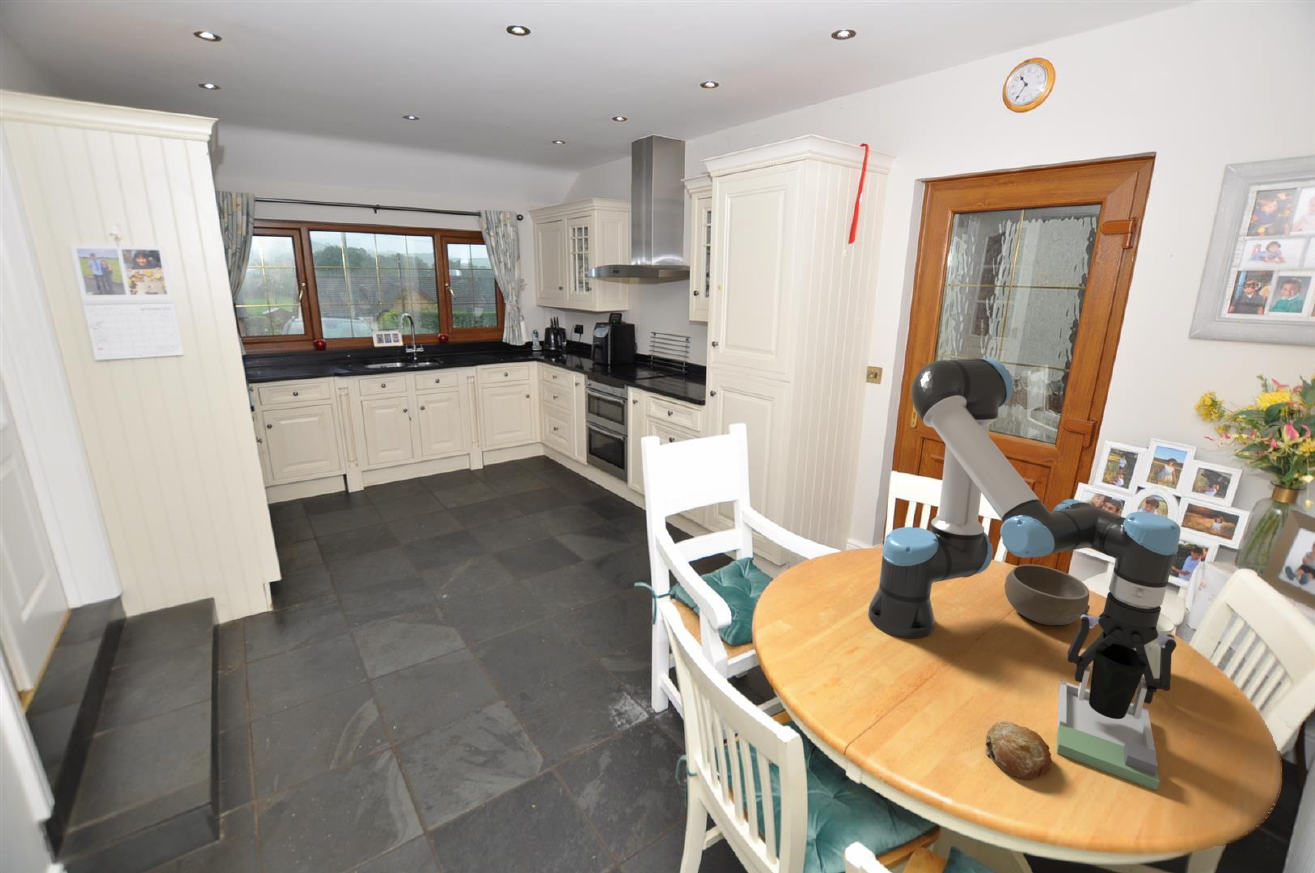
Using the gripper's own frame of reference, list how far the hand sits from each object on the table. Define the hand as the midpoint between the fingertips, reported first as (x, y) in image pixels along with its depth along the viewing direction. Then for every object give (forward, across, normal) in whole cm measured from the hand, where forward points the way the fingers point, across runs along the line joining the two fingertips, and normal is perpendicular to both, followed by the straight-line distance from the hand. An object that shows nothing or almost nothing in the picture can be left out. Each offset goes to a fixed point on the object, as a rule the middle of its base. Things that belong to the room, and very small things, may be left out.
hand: (1107, 704), depth 110 cm
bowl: (+5, -11, +38) cm, 40 cm away
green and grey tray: (+5, 0, -3) cm, 6 cm away
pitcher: (+5, +6, +23) cm, 24 cm away
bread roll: (+5, -13, -18) cm, 23 cm away
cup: (+1, 0, 0) cm, 1 cm away
